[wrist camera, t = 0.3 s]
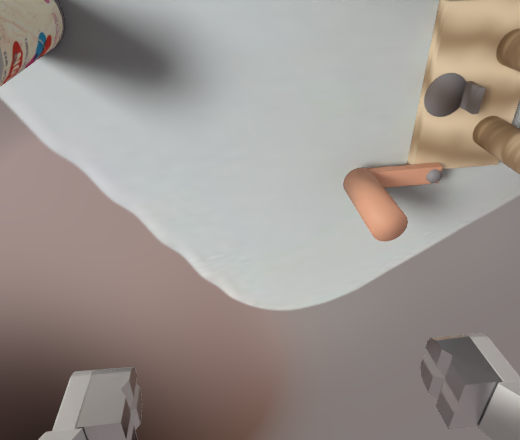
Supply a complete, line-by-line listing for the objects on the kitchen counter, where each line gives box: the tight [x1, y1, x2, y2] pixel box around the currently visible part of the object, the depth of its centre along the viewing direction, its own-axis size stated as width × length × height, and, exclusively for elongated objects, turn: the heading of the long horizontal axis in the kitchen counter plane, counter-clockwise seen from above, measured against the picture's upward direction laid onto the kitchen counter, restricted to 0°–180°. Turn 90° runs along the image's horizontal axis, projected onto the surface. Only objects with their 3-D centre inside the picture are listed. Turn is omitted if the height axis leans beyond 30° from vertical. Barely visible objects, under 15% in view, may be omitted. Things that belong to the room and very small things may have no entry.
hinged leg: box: [343, 163, 442, 241], centre depth 49 cm, size 13×4×11 cm, turn 91°
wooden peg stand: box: [407, 0, 520, 174], centre depth 45 cm, size 22×13×14 cm, turn 1°
